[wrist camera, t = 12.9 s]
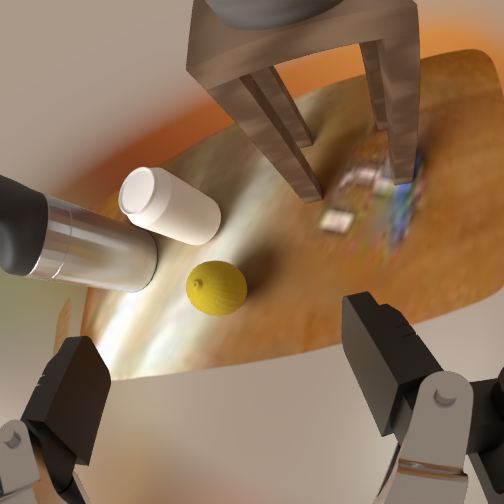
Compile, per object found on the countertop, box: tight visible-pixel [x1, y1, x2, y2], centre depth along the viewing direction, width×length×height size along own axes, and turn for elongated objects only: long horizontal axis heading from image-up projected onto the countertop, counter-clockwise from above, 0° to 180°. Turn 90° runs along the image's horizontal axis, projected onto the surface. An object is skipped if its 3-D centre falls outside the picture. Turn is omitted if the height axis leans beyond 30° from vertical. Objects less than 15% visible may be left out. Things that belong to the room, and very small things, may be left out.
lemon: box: [186, 261, 247, 316], centre depth 31 cm, size 6×6×8 cm
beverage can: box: [119, 167, 221, 245], centre depth 33 cm, size 6×6×12 cm
